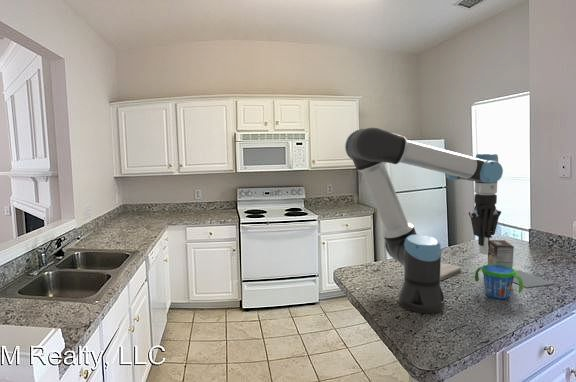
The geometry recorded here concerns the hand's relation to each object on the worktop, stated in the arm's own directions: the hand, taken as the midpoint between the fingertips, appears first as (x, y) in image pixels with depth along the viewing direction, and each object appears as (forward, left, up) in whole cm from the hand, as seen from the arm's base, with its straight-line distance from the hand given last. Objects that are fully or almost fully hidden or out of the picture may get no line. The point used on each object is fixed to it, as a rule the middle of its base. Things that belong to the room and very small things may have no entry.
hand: (483, 253), depth 139 cm
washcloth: (-8, +16, -13) cm, 22 cm away
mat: (+19, 0, -12) cm, 23 cm away
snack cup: (-3, -11, -13) cm, 17 cm away
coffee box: (+8, 0, -13) cm, 15 cm away
